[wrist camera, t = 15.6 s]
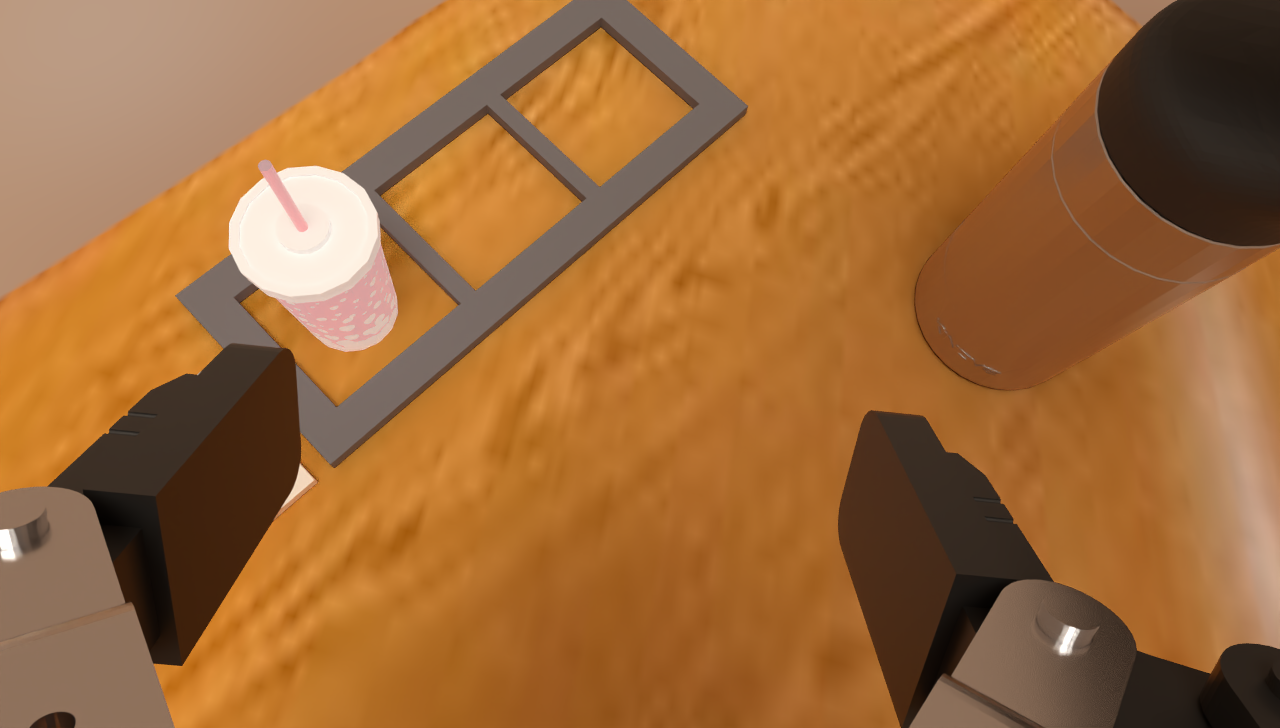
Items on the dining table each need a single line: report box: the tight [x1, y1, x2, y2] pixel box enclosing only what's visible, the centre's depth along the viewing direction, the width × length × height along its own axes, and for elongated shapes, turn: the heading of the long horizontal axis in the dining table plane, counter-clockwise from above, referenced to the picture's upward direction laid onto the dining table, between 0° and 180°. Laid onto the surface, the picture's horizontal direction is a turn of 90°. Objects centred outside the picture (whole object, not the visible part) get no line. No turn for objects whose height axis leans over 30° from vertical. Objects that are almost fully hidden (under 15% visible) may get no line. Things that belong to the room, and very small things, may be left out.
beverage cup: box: [229, 160, 398, 352], centre depth 38 cm, size 6×6×14 cm
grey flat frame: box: [175, 0, 748, 468], centre depth 47 cm, size 30×12×1 cm, turn 135°
